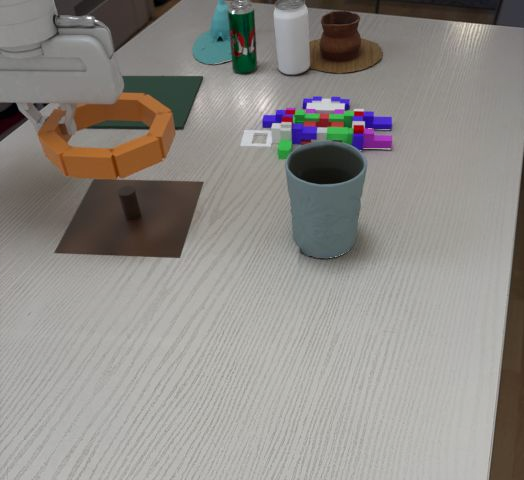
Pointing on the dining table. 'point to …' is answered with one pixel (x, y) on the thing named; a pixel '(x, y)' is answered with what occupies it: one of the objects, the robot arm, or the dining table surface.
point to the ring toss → (132, 218)
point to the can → (292, 36)
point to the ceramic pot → (342, 45)
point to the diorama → (215, 38)
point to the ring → (120, 157)
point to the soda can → (242, 36)
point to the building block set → (320, 126)
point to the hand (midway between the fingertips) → (57, 132)
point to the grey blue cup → (325, 196)
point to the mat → (160, 97)
